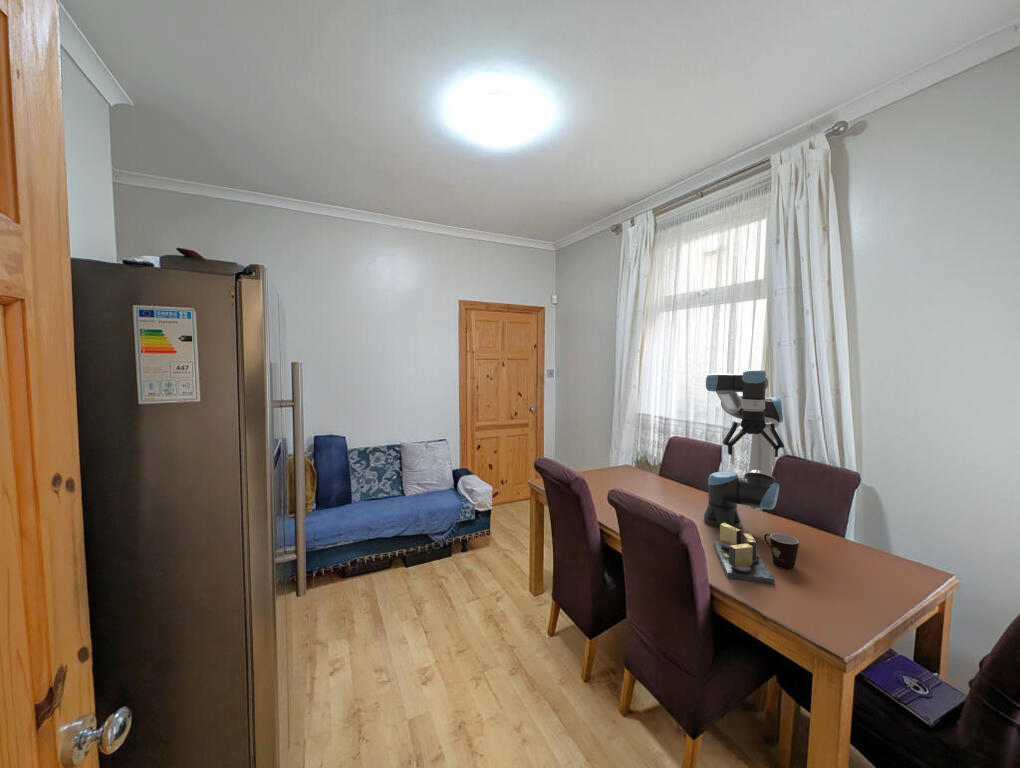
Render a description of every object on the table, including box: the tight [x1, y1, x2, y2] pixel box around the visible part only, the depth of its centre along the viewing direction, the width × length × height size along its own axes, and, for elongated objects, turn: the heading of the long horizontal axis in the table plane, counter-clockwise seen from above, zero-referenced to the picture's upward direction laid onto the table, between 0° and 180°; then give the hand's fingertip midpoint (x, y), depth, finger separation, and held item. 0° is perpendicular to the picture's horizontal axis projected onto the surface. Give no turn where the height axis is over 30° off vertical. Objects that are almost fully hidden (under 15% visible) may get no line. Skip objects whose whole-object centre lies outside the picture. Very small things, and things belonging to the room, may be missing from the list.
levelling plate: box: [713, 540, 775, 585], centre depth 141 cm, size 24×14×3 cm, turn 162°
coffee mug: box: [763, 532, 800, 571], centre depth 141 cm, size 12×9×10 cm
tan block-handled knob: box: [719, 523, 743, 550], centre depth 149 cm, size 7×6×8 cm
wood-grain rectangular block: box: [742, 532, 759, 563], centre depth 140 cm, size 7×6×8 cm
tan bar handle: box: [729, 543, 753, 573], centre depth 134 cm, size 7×6×8 cm
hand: (752, 464), depth 149 cm, fingers open, 13 cm apart
